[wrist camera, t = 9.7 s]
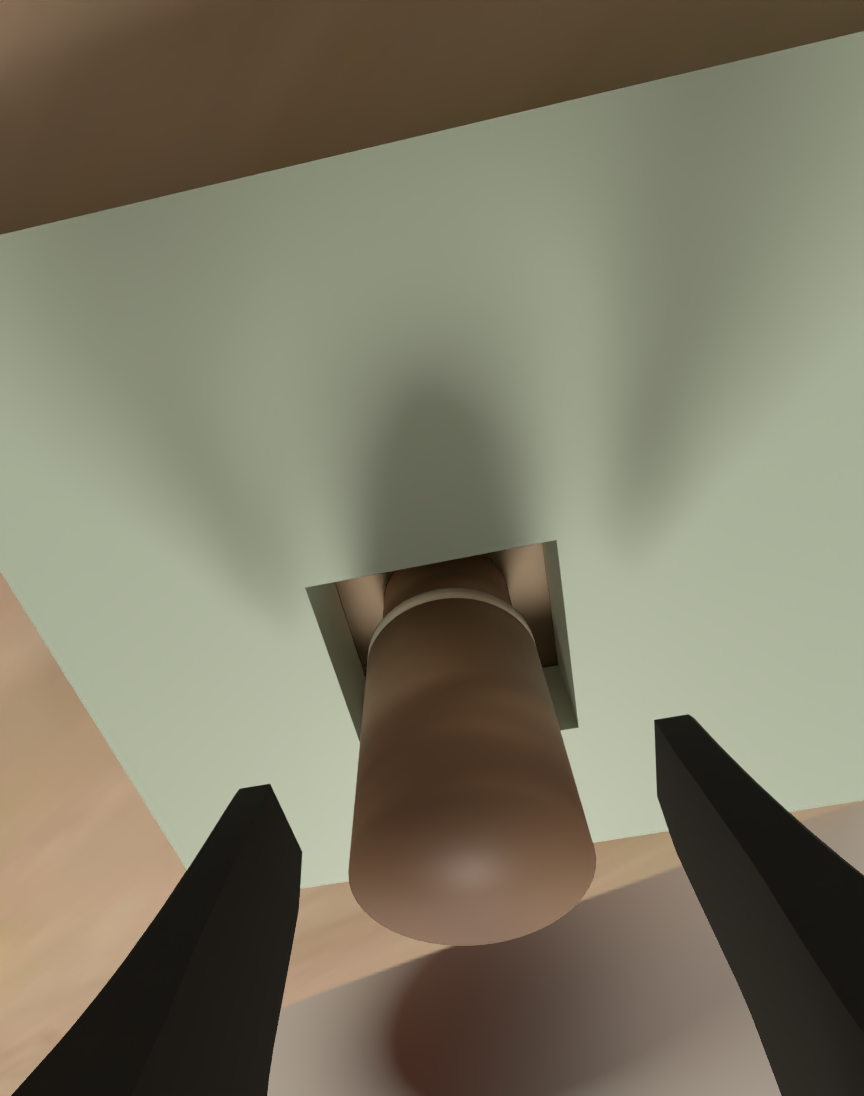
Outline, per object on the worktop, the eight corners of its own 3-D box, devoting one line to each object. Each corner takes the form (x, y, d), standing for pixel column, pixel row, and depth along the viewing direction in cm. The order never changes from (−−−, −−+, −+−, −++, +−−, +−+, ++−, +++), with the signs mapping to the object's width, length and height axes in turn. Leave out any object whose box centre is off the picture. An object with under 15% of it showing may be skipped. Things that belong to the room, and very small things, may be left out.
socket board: (930, 27, 11) (1054, -14, 9) (827, 733, 20) (879, 797, 18) (-82, 266, 13) (-183, 278, 11) (228, 831, 21) (207, 902, 19)
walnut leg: (510, 524, 16) (589, 771, 9) (526, 647, 18) (601, 929, 11) (358, 550, 16) (320, 810, 9) (389, 669, 18) (378, 958, 11)
